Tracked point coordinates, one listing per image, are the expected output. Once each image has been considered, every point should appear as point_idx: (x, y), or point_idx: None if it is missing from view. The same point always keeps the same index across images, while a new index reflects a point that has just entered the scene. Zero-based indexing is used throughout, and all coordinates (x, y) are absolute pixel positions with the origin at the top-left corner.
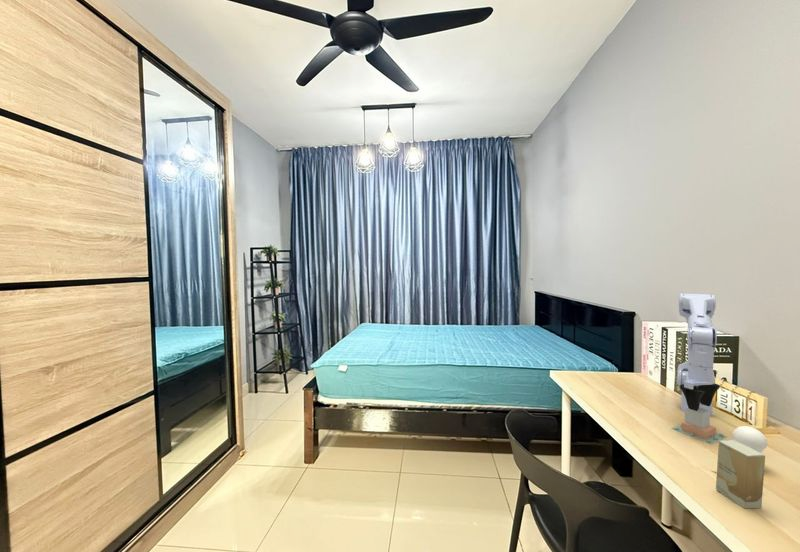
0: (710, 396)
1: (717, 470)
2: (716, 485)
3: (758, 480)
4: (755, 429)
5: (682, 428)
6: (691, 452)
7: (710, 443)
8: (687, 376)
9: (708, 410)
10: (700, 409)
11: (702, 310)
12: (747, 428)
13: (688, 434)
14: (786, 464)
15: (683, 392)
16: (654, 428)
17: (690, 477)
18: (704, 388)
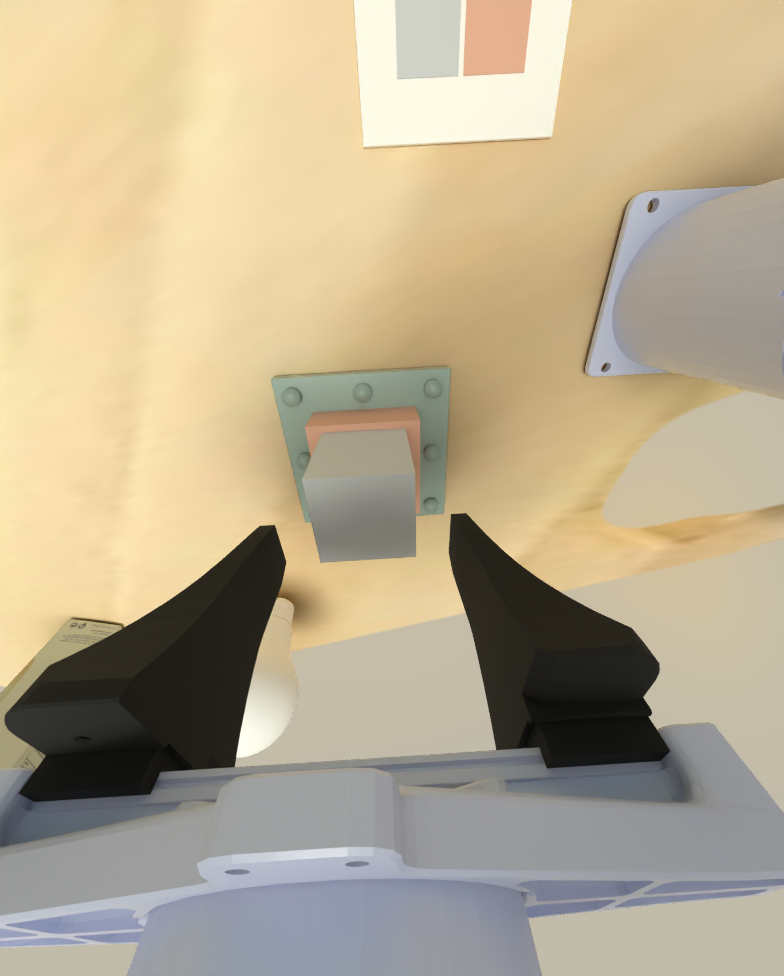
0: (473, 623)
1: (17, 675)
2: (59, 630)
3: None
4: (244, 756)
5: (312, 417)
6: (183, 511)
7: (309, 518)
8: (213, 892)
9: (405, 554)
10: (372, 532)
11: None
12: None
13: (298, 449)
14: (414, 616)
15: (126, 631)
16: (202, 315)
17: (38, 578)
18: (497, 656)
